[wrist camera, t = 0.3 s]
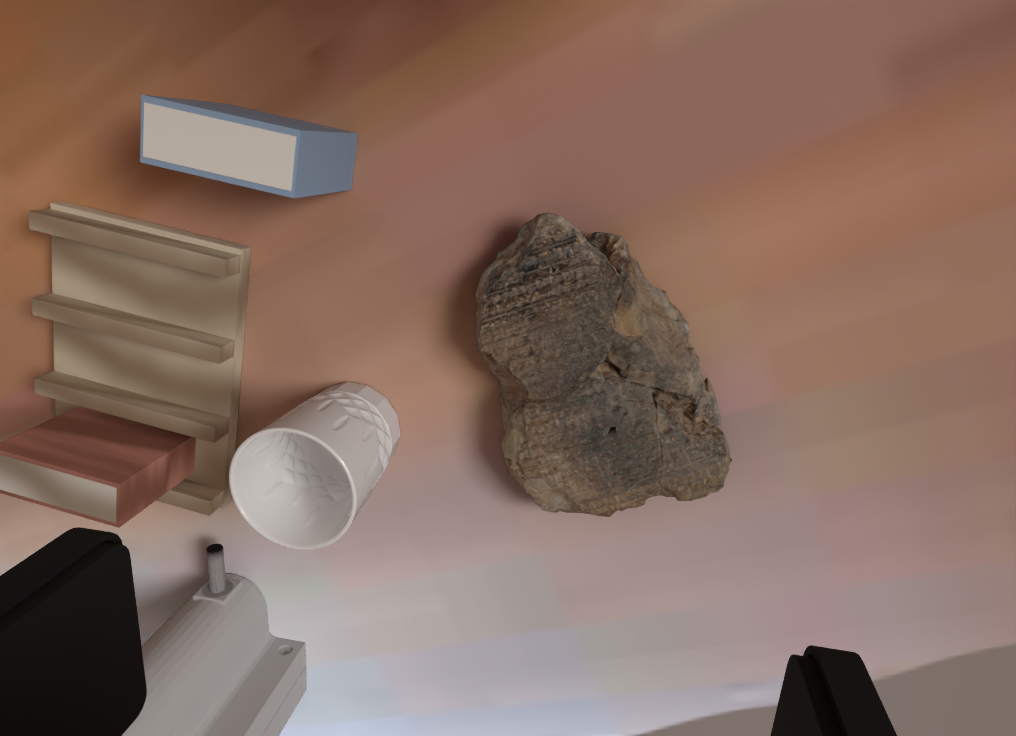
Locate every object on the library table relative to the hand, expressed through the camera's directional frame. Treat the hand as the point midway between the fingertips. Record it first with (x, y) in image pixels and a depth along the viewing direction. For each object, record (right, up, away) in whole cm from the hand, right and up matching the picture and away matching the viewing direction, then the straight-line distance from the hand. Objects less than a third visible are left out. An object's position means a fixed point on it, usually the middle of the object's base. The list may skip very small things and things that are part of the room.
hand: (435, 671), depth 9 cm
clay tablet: (+6, +5, +36) cm, 37 cm away
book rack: (-25, +5, +41) cm, 48 cm away
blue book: (-13, +18, +34) cm, 41 cm away
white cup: (-10, 0, +40) cm, 41 cm away
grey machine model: (-21, -15, +47) cm, 54 cm away
